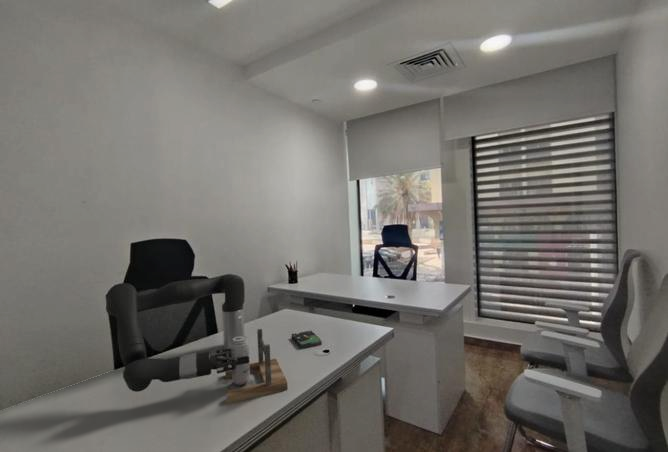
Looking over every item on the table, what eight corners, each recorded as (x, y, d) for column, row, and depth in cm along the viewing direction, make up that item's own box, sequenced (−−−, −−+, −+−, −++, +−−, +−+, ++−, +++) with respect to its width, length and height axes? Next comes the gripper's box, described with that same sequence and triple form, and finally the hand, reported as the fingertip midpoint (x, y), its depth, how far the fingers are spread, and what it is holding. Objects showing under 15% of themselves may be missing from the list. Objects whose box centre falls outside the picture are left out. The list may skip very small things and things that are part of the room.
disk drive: (291, 339, 150) (300, 350, 137) (290, 334, 150) (300, 344, 137) (311, 335, 154) (322, 345, 141) (310, 330, 154) (322, 339, 141)
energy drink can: (248, 385, 105) (246, 341, 105) (230, 386, 105) (228, 342, 105) (251, 376, 111) (250, 334, 111) (234, 377, 111) (233, 335, 111)
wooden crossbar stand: (225, 375, 116) (223, 334, 116) (276, 364, 123) (274, 325, 123) (228, 403, 97) (225, 354, 97) (287, 389, 104) (285, 343, 104)
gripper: (197, 367, 110) (246, 358, 116) (194, 386, 96) (250, 375, 102) (196, 346, 110) (245, 338, 116) (194, 362, 96) (249, 352, 102)
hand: (247, 355), depth 109 cm, fingers closed on energy drink can, 6 cm apart
